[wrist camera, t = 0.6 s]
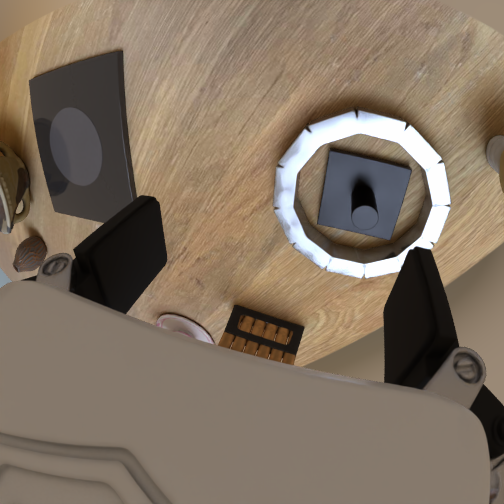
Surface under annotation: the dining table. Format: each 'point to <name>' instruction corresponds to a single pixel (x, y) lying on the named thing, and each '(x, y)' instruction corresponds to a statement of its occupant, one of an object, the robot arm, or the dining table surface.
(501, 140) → the light bulb
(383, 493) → the robot arm
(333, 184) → the ring stand
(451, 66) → the dining table surface
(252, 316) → the ammunition clip
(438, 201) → the steel ring
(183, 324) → the teacup
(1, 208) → the bowl
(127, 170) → the hob plate
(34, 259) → the vase
